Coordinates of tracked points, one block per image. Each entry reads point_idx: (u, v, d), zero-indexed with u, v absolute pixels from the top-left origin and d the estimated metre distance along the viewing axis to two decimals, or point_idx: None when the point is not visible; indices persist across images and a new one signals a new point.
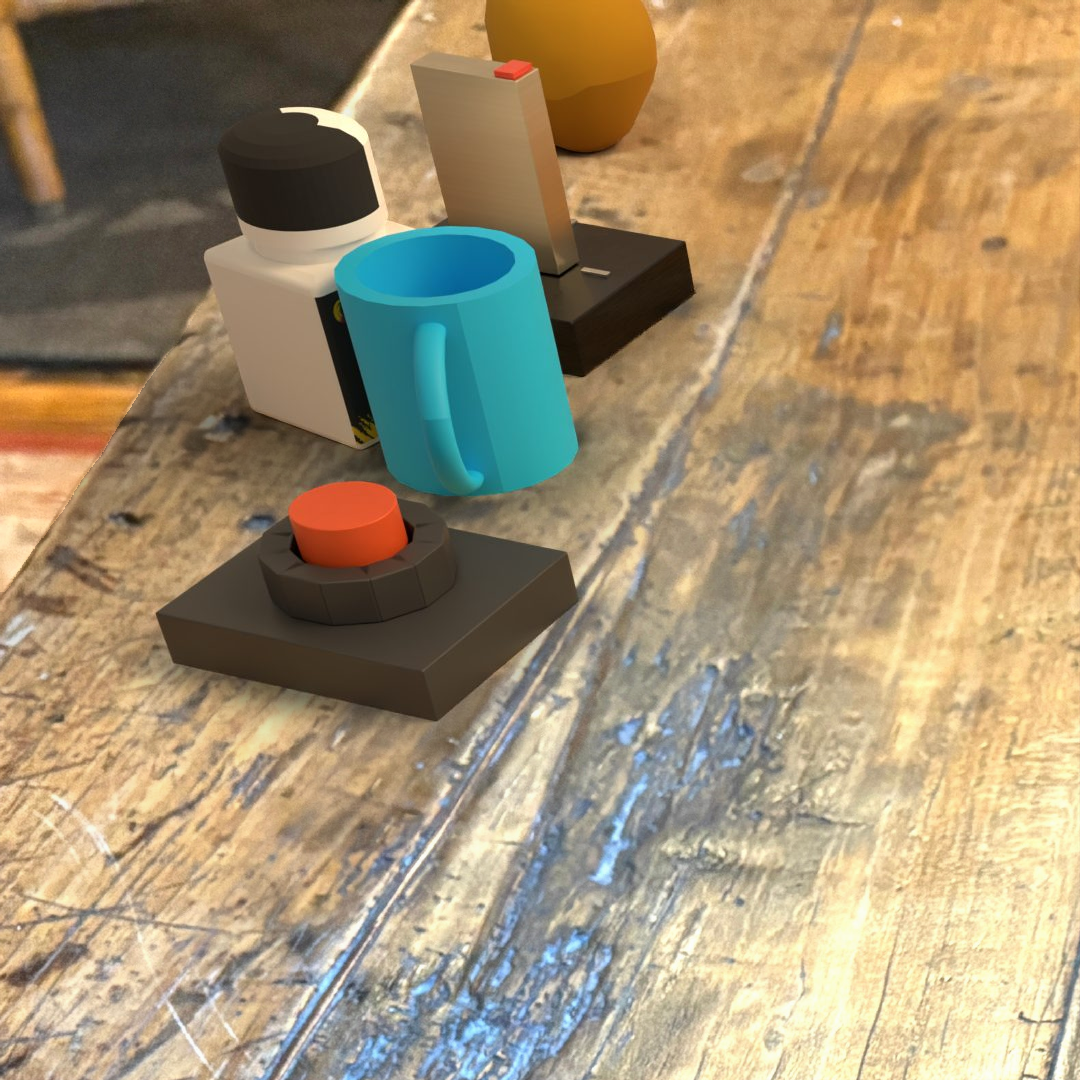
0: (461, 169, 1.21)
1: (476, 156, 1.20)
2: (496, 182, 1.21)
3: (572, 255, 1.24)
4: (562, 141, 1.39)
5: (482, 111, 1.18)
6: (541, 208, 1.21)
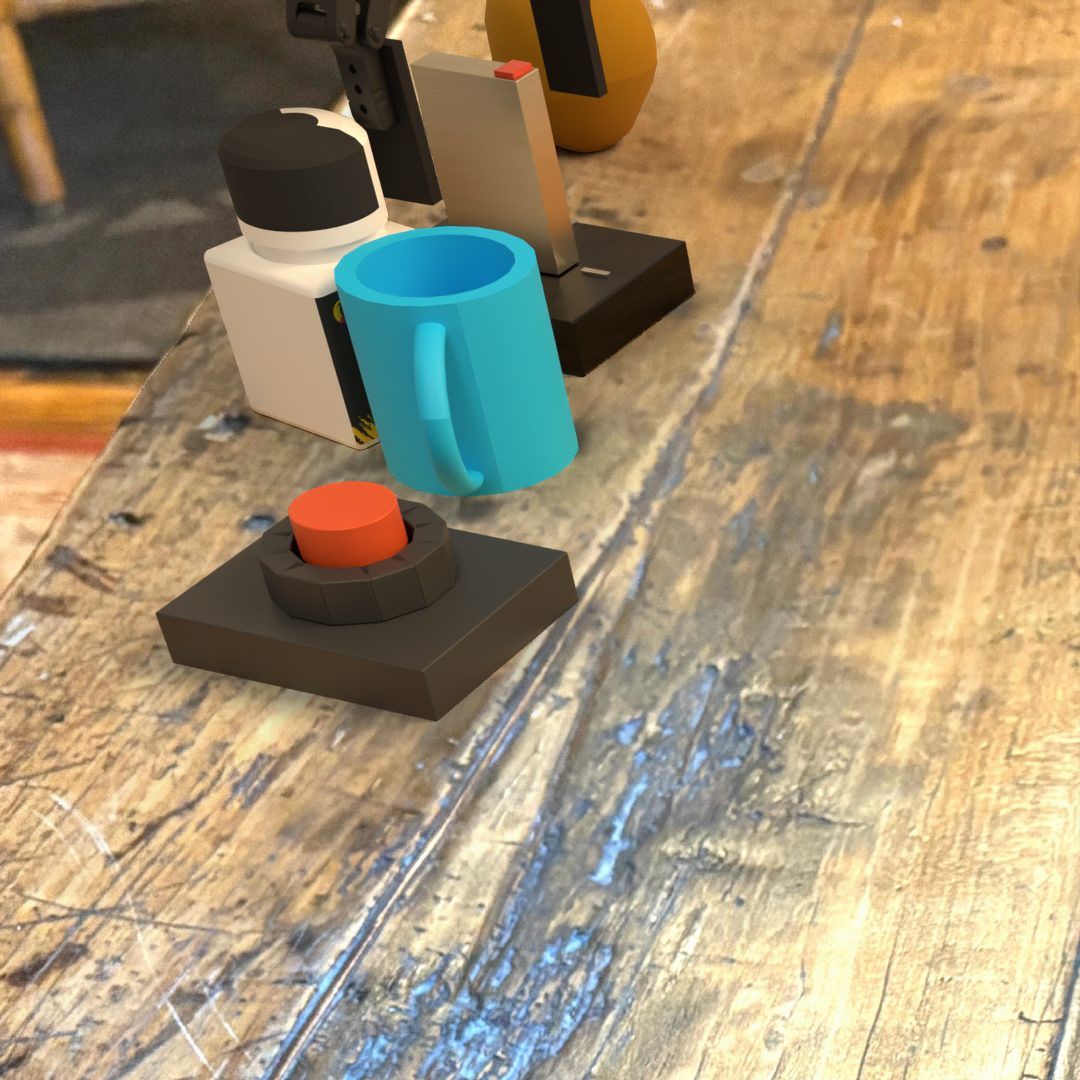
0: (461, 169, 1.21)
1: (476, 156, 1.20)
2: (496, 182, 1.21)
3: (572, 255, 1.24)
4: (562, 141, 1.39)
5: (482, 111, 1.18)
6: (541, 208, 1.21)
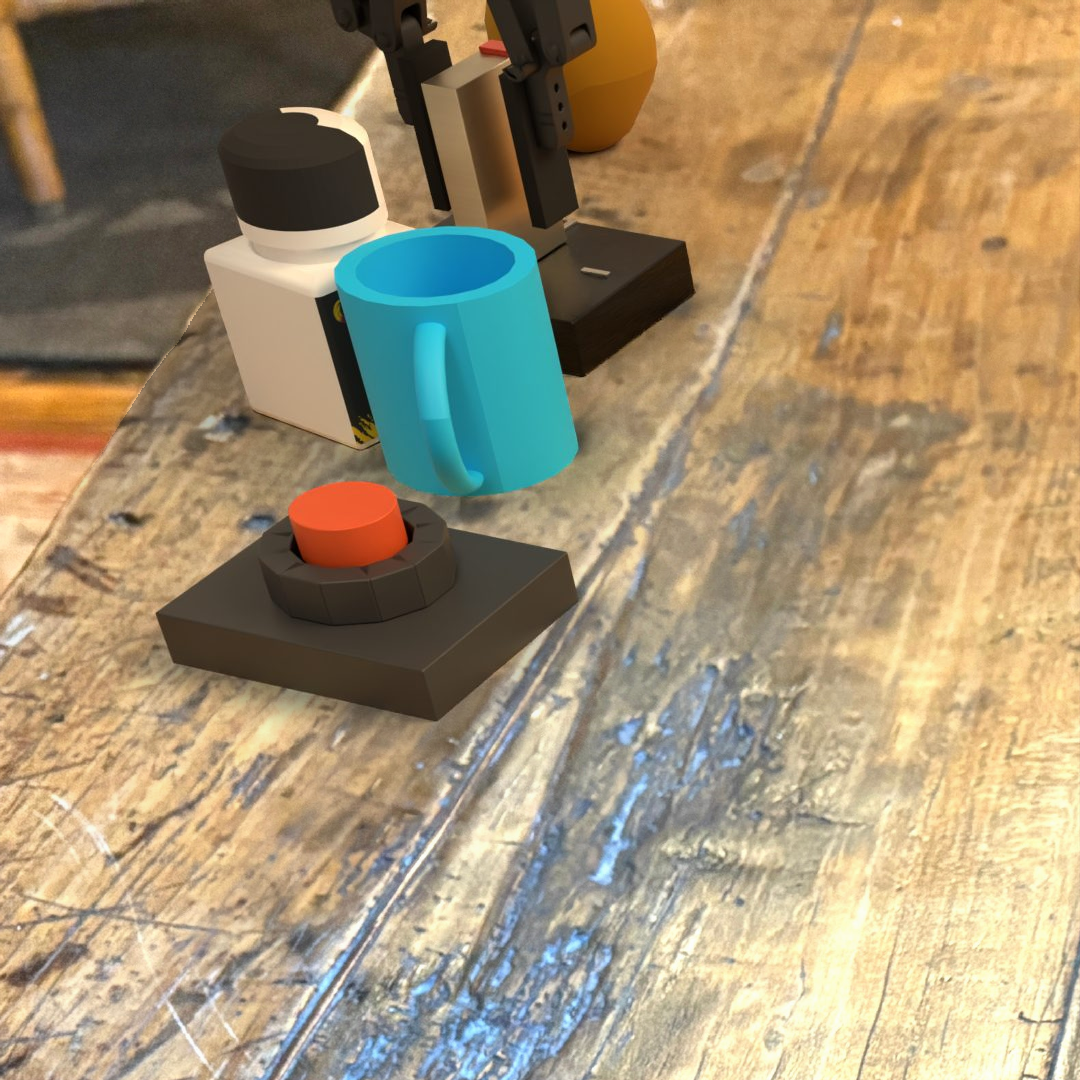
0: (497, 179, 1.20)
1: (506, 155, 1.20)
2: None
3: None
4: None
5: None
6: None
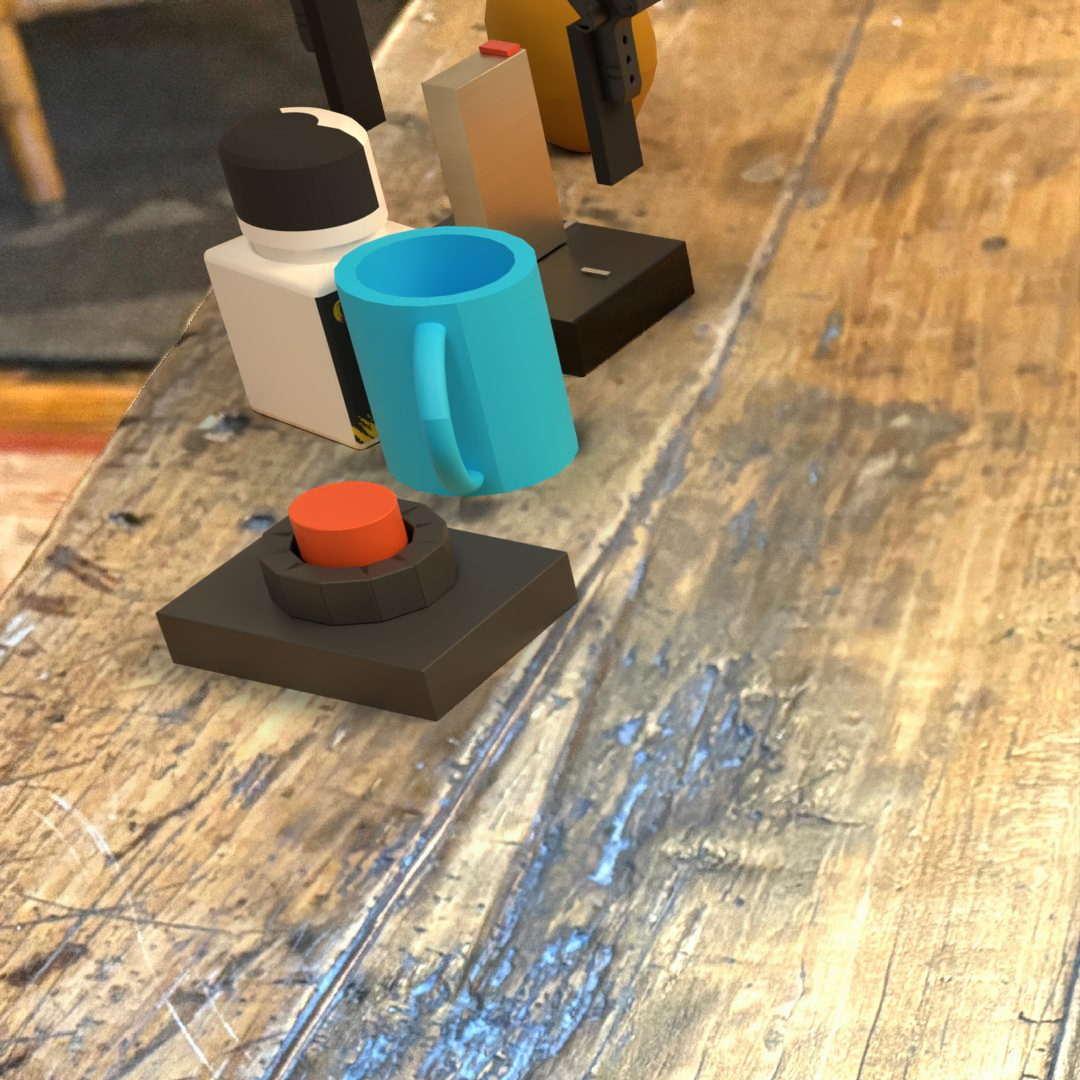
0: (497, 179, 1.20)
1: (506, 155, 1.20)
2: (521, 172, 1.21)
3: None
4: (562, 141, 1.39)
5: (506, 101, 1.19)
6: (551, 175, 1.23)
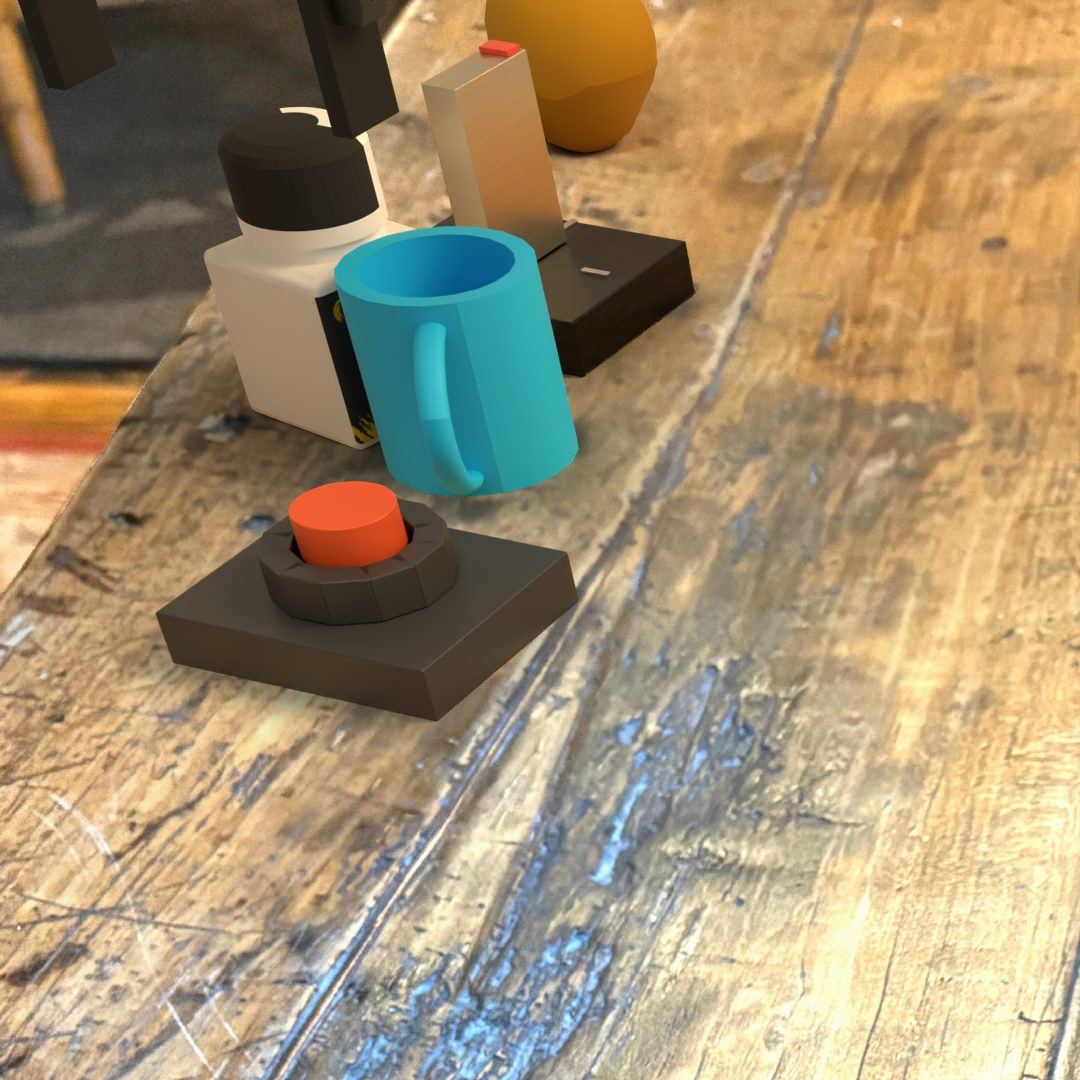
0: (497, 179, 1.20)
1: (506, 155, 1.20)
2: (521, 172, 1.21)
3: None
4: (562, 141, 1.39)
5: (506, 101, 1.19)
6: (551, 175, 1.23)
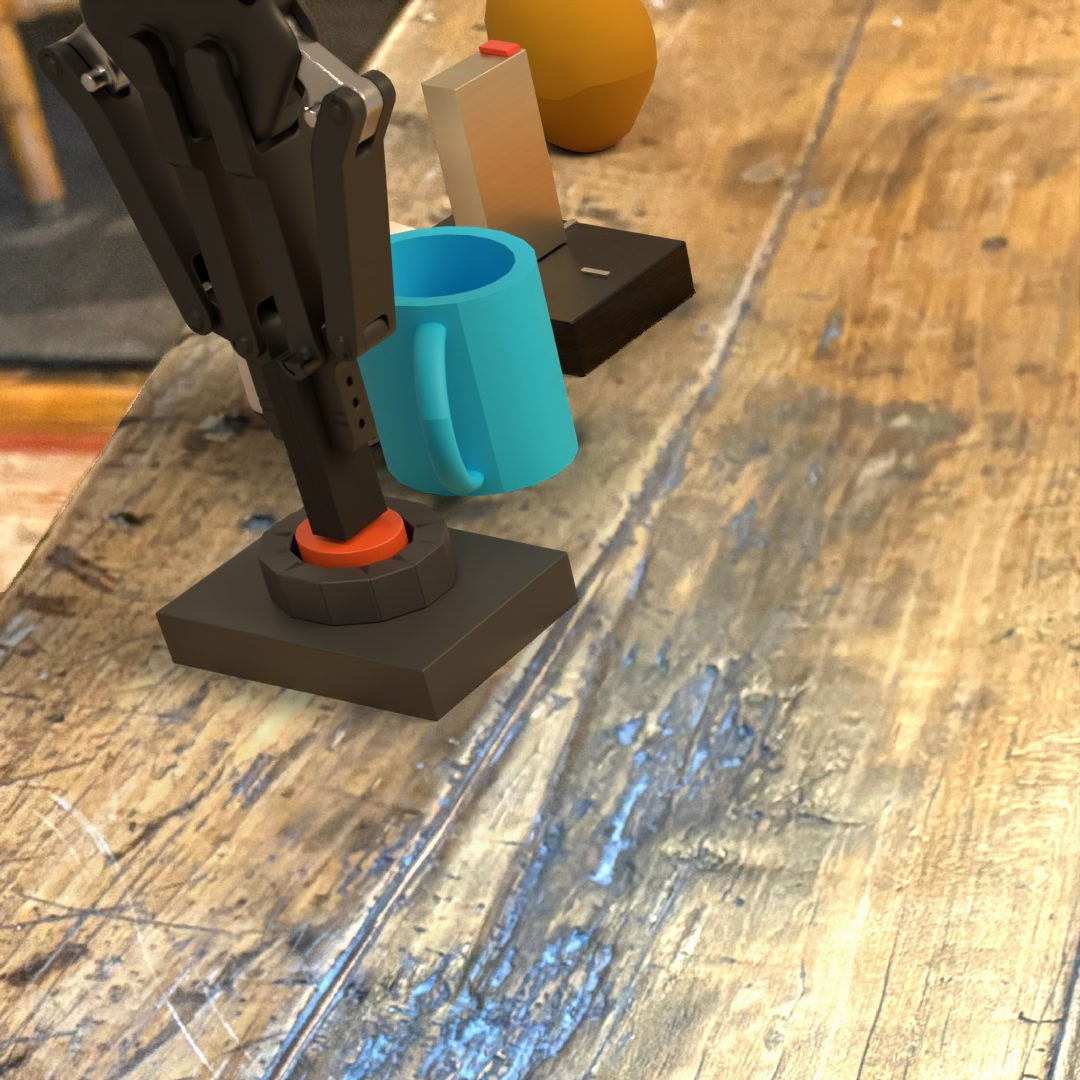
0: (497, 179, 1.20)
1: (506, 155, 1.20)
2: (521, 172, 1.21)
3: None
4: (562, 141, 1.39)
5: (506, 101, 1.19)
6: (551, 175, 1.23)
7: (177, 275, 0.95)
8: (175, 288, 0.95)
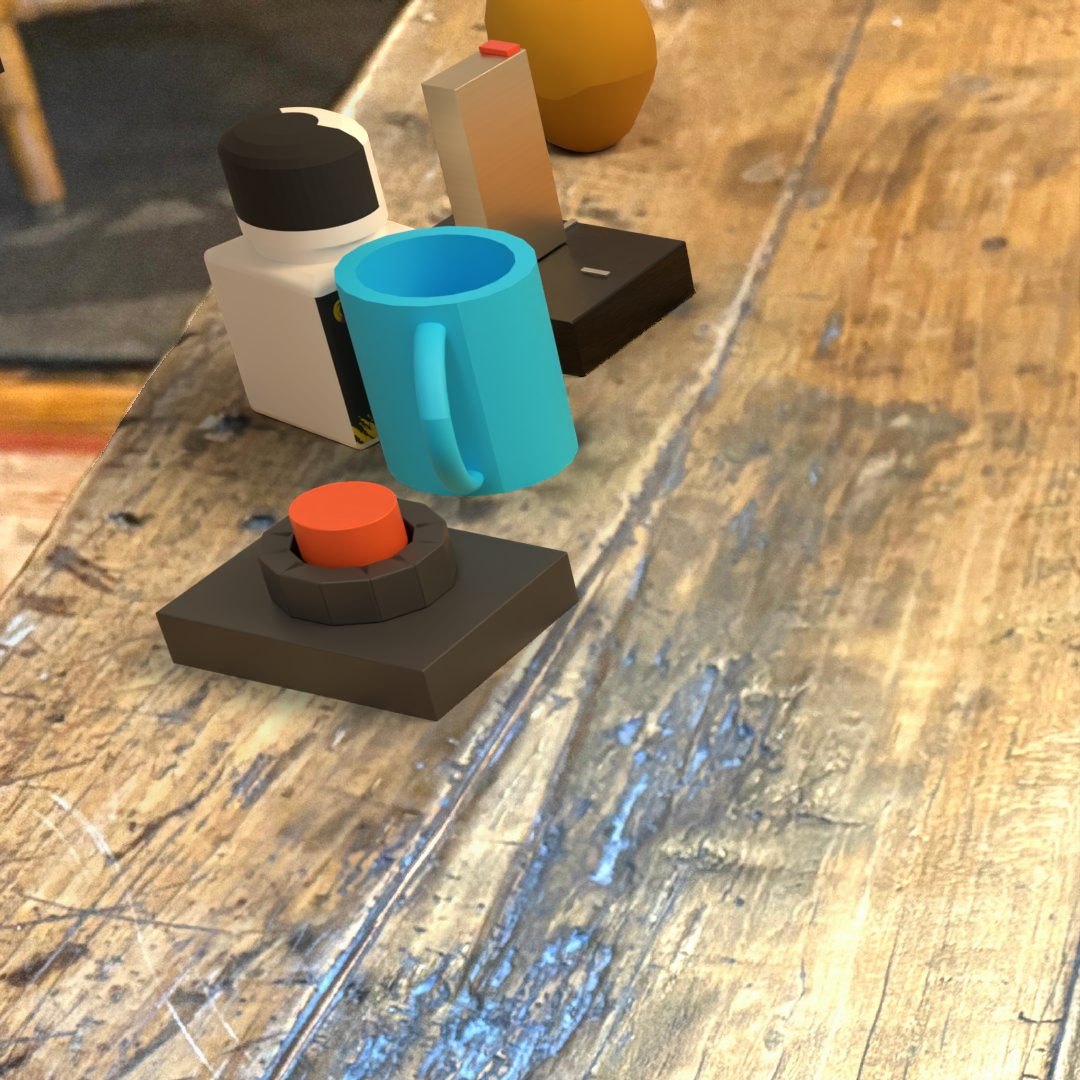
0: (497, 179, 1.20)
1: (506, 155, 1.20)
2: (521, 172, 1.21)
3: None
4: (562, 141, 1.39)
5: (506, 101, 1.19)
6: (551, 175, 1.23)
7: None
8: None
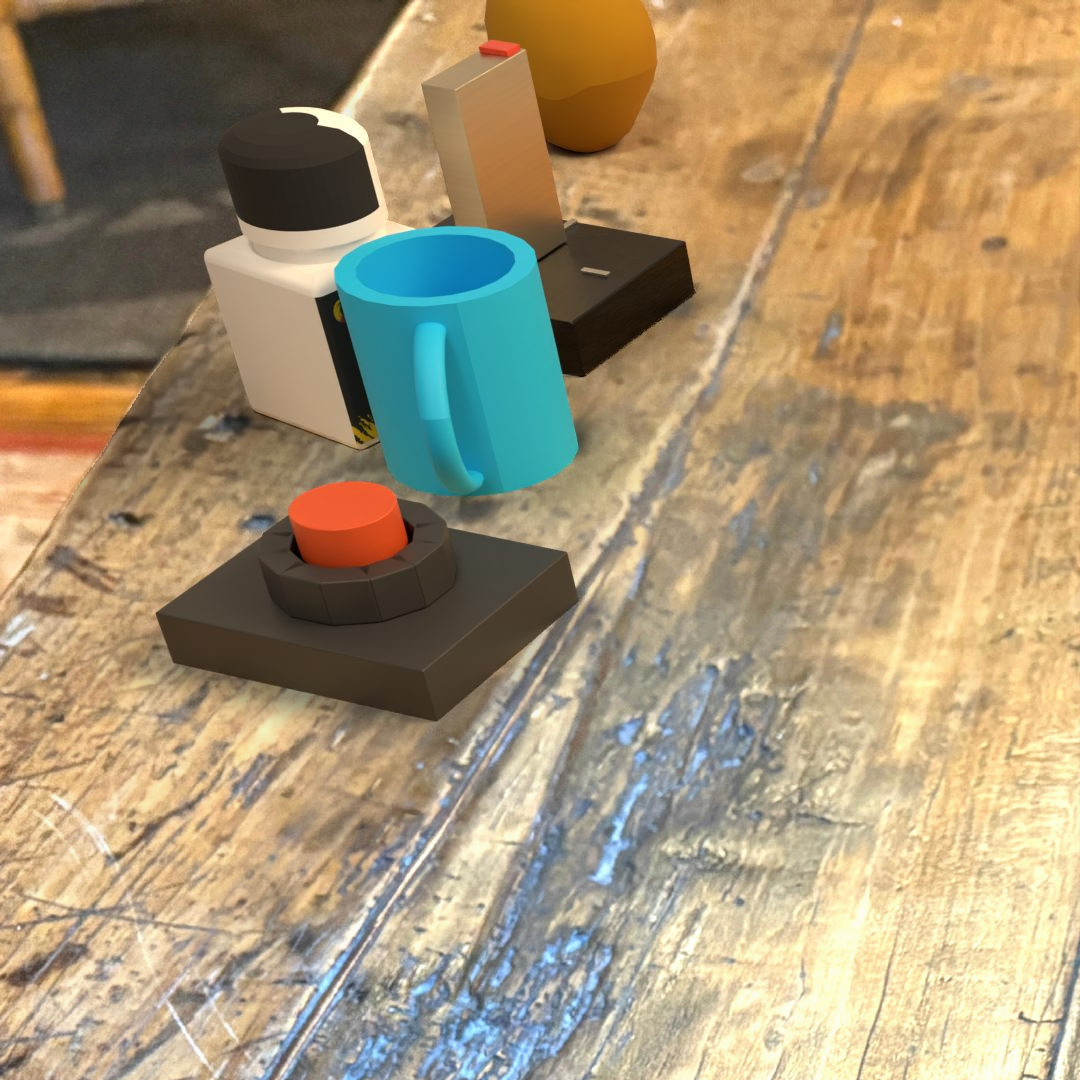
0: (497, 179, 1.20)
1: (506, 155, 1.20)
2: (521, 172, 1.21)
3: None
4: (562, 141, 1.39)
5: (506, 101, 1.19)
6: (551, 175, 1.23)
7: None
8: None
